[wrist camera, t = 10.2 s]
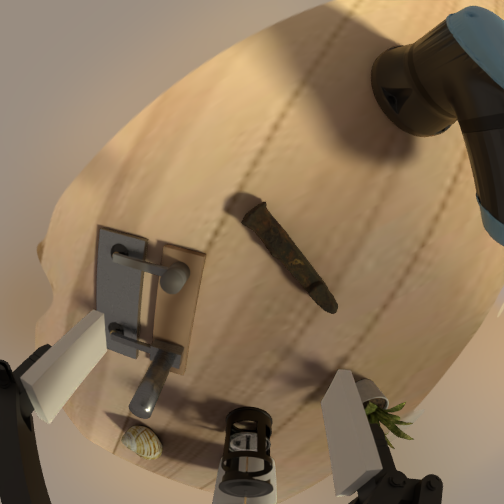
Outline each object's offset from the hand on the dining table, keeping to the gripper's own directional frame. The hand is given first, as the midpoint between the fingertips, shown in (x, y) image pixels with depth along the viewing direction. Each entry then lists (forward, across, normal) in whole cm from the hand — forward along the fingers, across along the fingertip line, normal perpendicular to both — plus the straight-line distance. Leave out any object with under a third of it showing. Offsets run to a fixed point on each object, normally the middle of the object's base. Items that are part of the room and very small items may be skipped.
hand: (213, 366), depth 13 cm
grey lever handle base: (+25, -13, -13) cm, 31 cm away
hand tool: (+26, +7, 0) cm, 27 cm away
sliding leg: (+23, -13, -19) cm, 33 cm away
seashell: (+24, -14, -51) cm, 58 cm away
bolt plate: (+25, -19, -13) cm, 34 cm away
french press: (+25, +8, -36) cm, 45 cm away
